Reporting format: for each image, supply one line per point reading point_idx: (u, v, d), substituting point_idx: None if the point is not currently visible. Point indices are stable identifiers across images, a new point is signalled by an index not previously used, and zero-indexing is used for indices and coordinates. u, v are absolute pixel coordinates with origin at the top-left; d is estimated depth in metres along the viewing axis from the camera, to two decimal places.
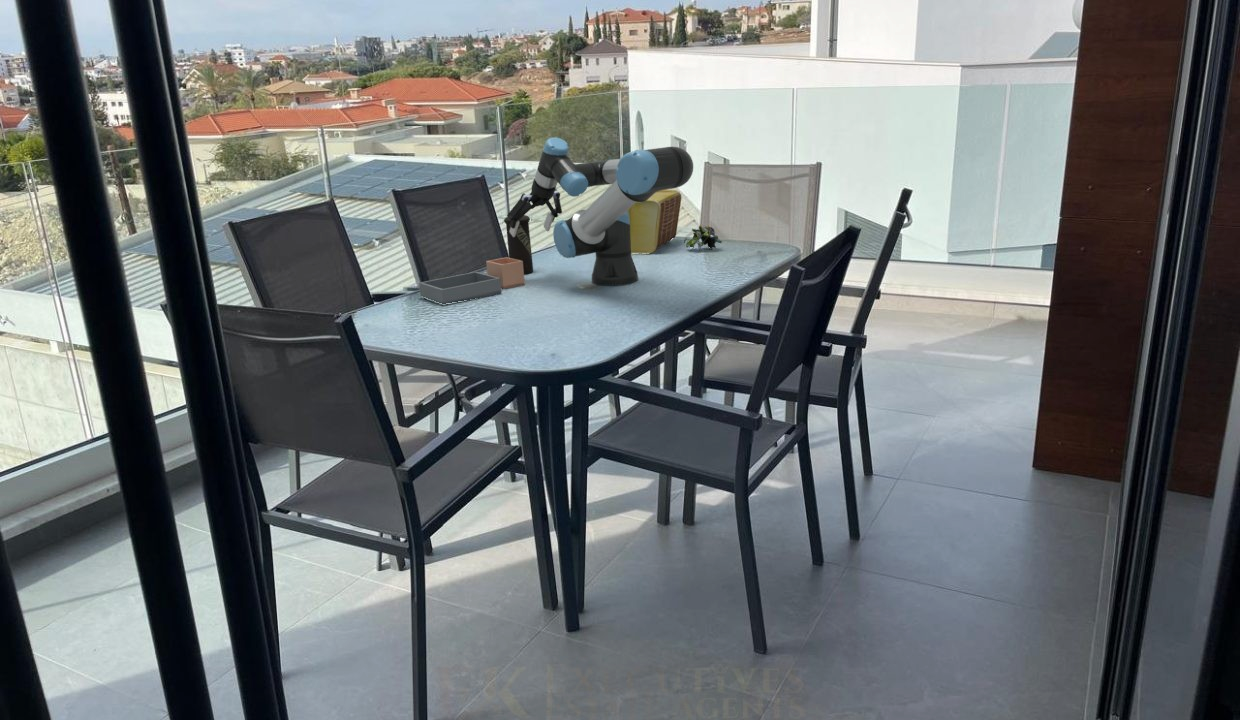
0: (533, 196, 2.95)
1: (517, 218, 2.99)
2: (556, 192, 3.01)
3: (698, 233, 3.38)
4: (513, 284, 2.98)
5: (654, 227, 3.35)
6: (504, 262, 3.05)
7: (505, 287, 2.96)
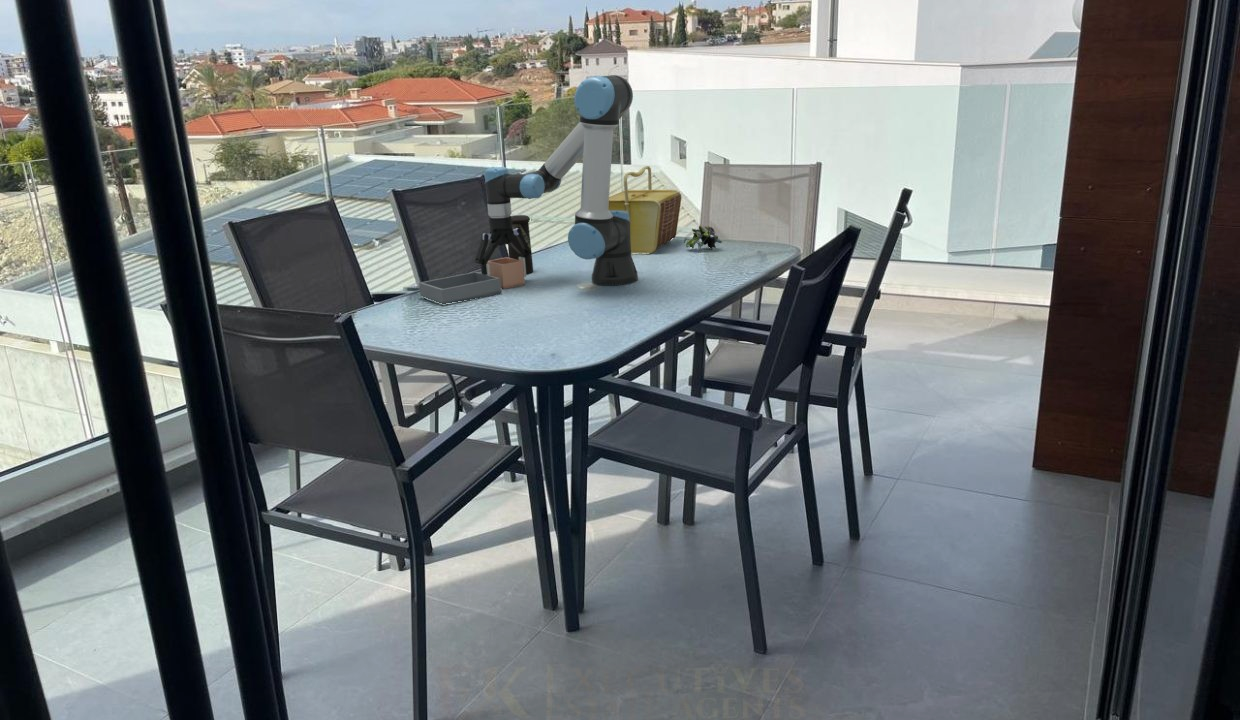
0: (493, 232, 2.94)
1: (485, 260, 2.94)
2: (516, 229, 3.00)
3: (698, 233, 3.38)
4: (513, 284, 2.98)
5: (654, 227, 3.35)
6: (504, 262, 3.05)
7: (505, 287, 2.96)
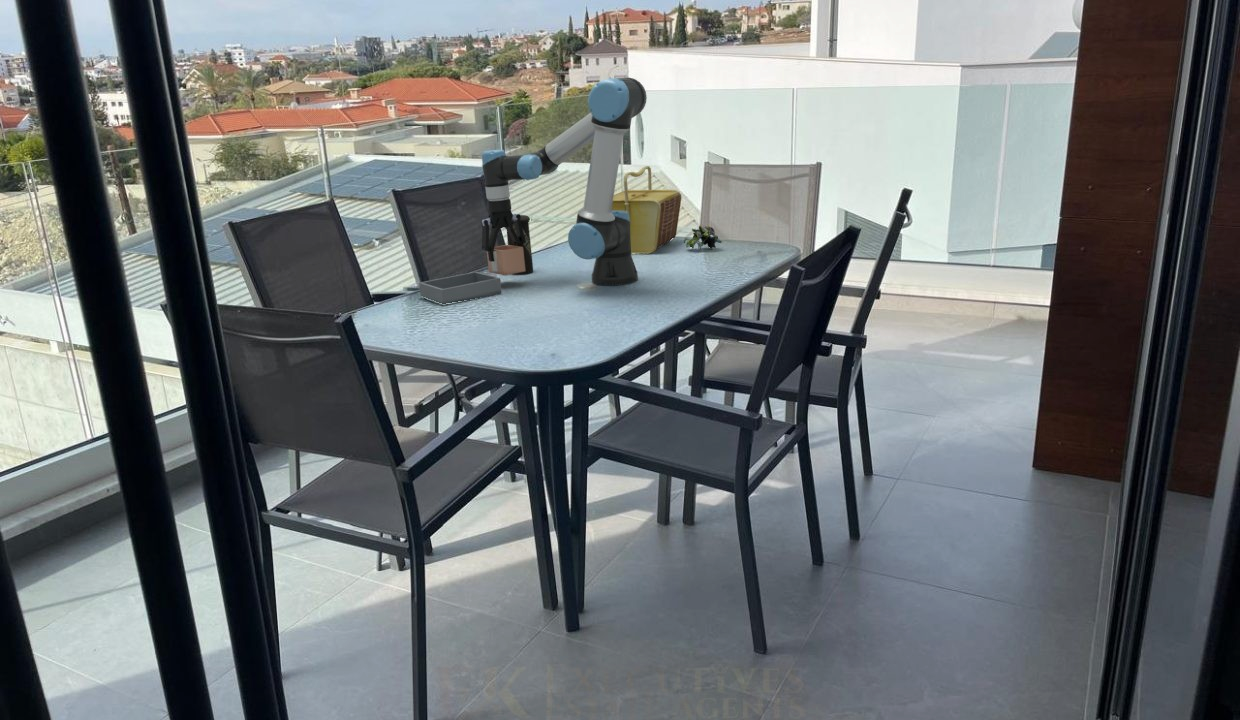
0: (491, 216, 2.92)
1: (491, 247, 2.94)
2: (516, 214, 2.99)
3: (698, 233, 3.38)
4: (514, 270, 2.96)
5: (654, 227, 3.35)
6: (504, 249, 3.04)
7: (506, 273, 2.95)
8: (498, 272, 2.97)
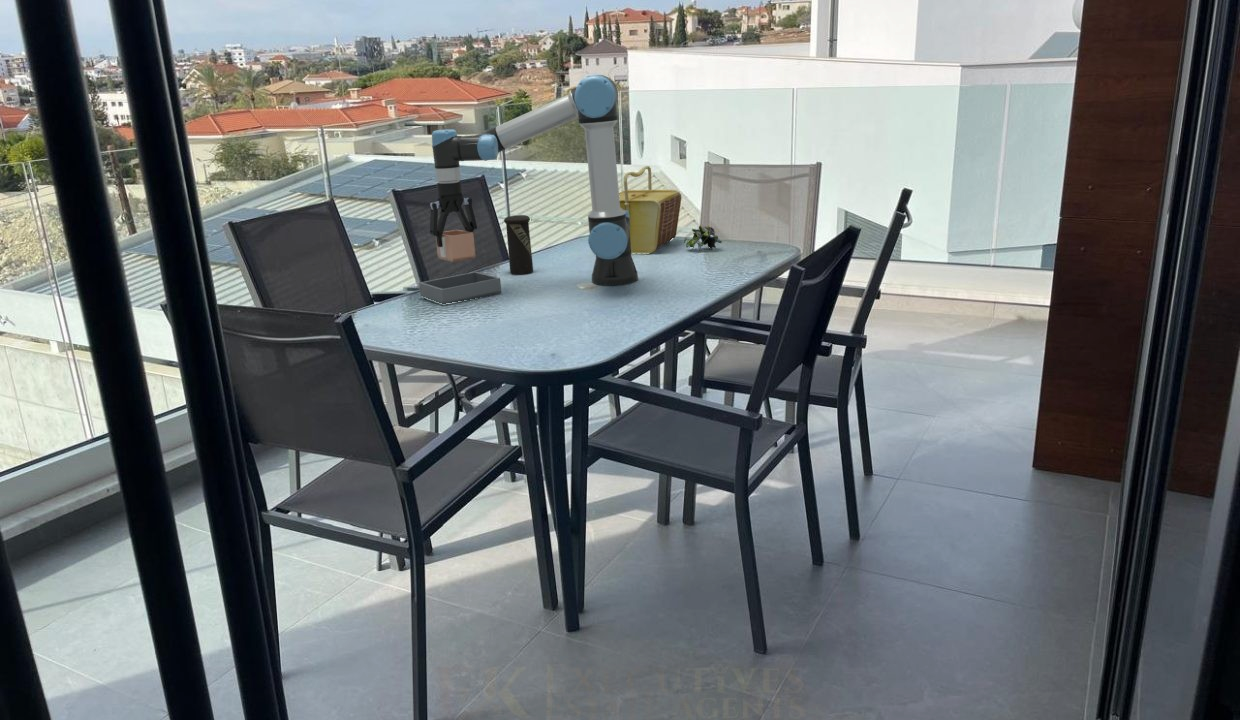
0: (440, 199, 2.78)
1: (439, 232, 2.80)
2: (467, 198, 2.85)
3: (698, 233, 3.38)
4: (463, 257, 2.83)
5: (654, 227, 3.35)
6: (455, 234, 2.90)
7: (454, 260, 2.81)
8: (447, 258, 2.83)
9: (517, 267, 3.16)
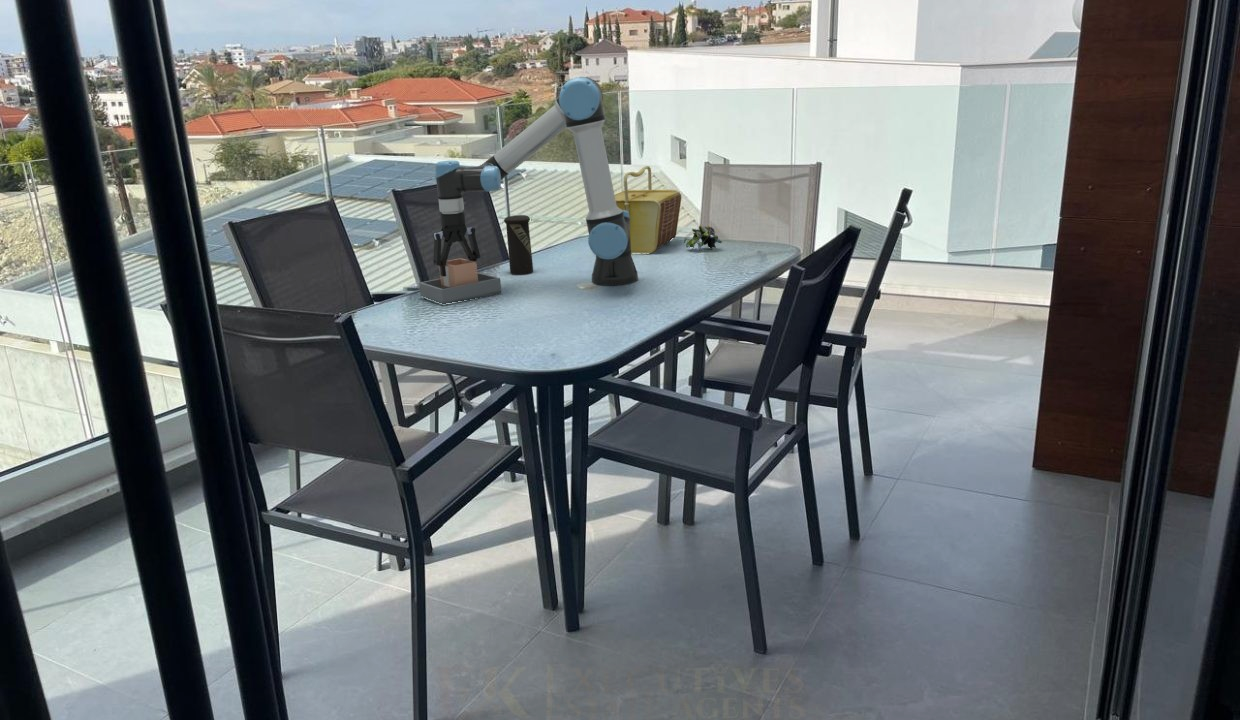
0: (443, 230, 2.81)
1: (443, 261, 2.83)
2: (471, 228, 2.87)
3: (698, 233, 3.38)
4: None
5: (654, 227, 3.35)
6: (458, 263, 2.93)
7: None
8: (450, 287, 2.86)
9: (517, 267, 3.16)
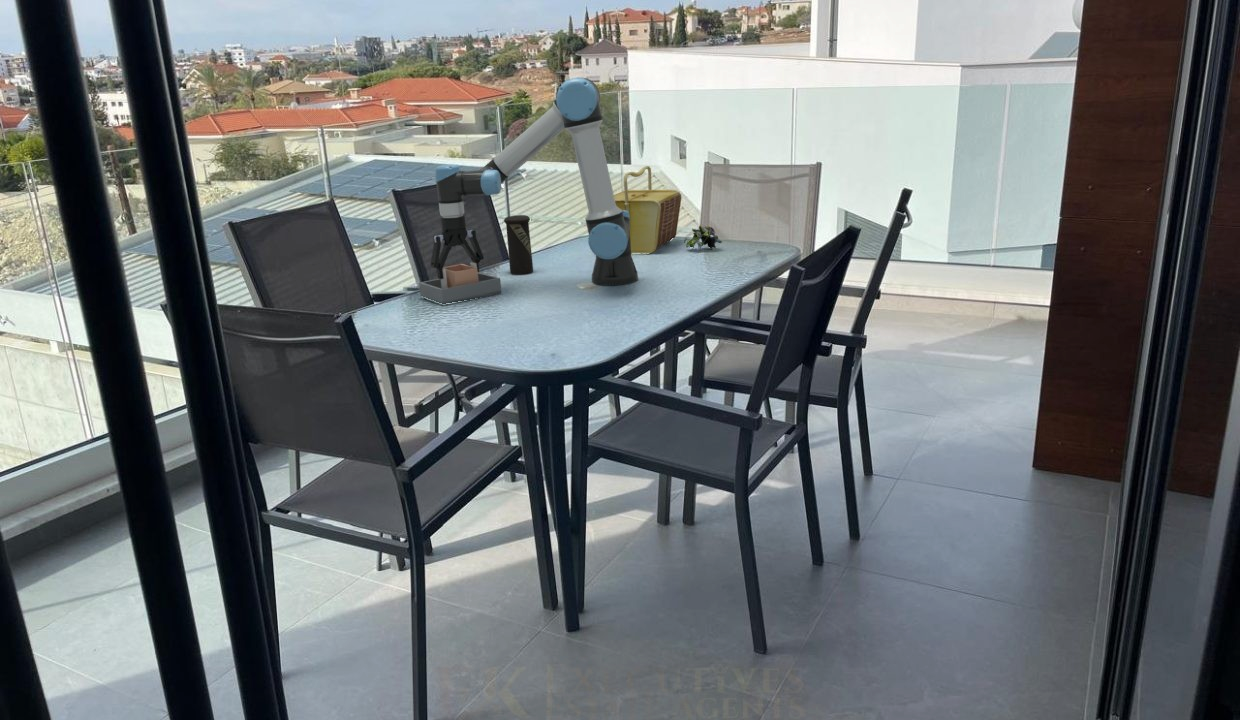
0: (444, 233, 2.82)
1: (440, 264, 2.83)
2: (471, 230, 2.88)
3: (698, 233, 3.38)
4: None
5: (654, 227, 3.35)
6: (459, 269, 2.93)
7: None
8: None
9: (517, 267, 3.16)
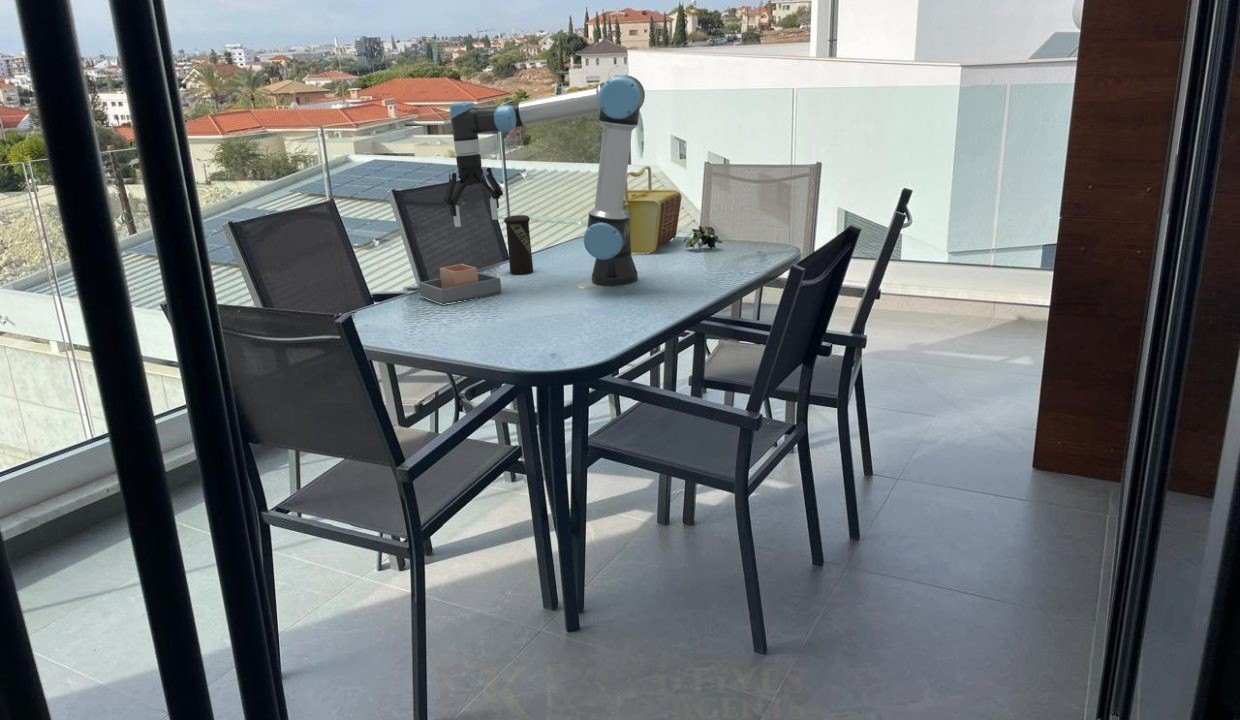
0: (461, 171, 2.79)
1: (454, 201, 2.79)
2: (486, 168, 2.85)
3: (698, 233, 3.38)
4: None
5: (654, 227, 3.35)
6: (459, 269, 2.93)
7: None
8: None
9: (517, 267, 3.16)
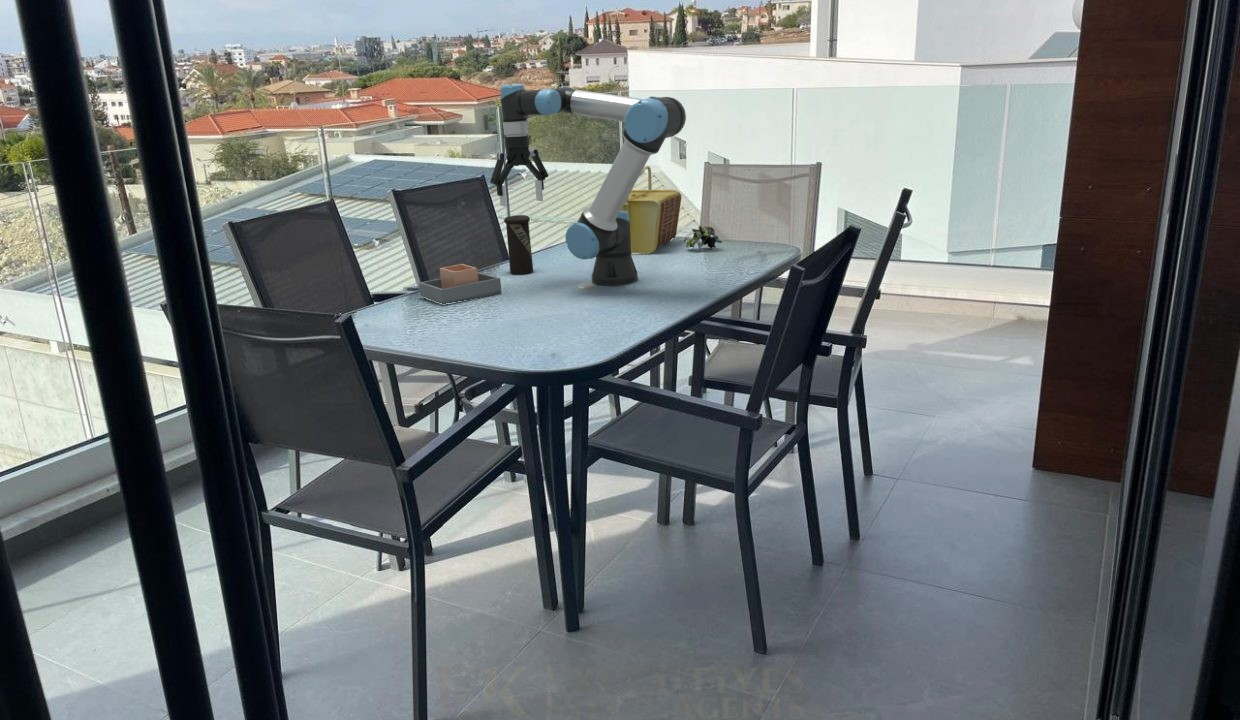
0: (509, 152, 2.85)
1: (501, 180, 2.85)
2: (533, 150, 2.91)
3: (698, 233, 3.38)
4: None
5: (654, 227, 3.35)
6: (459, 269, 2.93)
7: None
8: None
9: (517, 267, 3.16)
